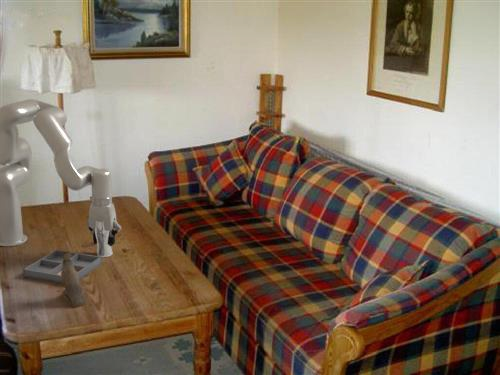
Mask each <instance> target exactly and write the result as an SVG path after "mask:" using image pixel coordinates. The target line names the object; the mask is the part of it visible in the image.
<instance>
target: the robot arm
mask: <svg viewBox="0 0 500 375" xmlns="http://www.w3.org/2000/svg"><path fill="white" fill-rule="evenodd" d="M67 120H68V119H67V114H66V113H65V111H64V110H63V109H62V108H60V107H59V106H57V105H54V104H50V103H47V102H44V101H41V100H38V99H33V98H32V99H25V100H21V101H17V102H16V101H15V102H11V103H8V104H6V105H2V106H1V107H0V166H3V167H0V246H1V247H16V246H20V245H22V244H24V243H26V242H27V241H28V236H27V235H26V234H24V231H23V230H24V229H23V218H22V207H21V206H22V205H21V199H20V196H19V193H18V192H17V188H18V187H21V186H23V185H24V184H27V182H28V181H29V180H30V178H31V172H32V171H31V170H32V148H31V145H30V143H29V142H28V140H26V139H25V138H24V137H19V134H20V133H19V129H18V127H17V126H18V125H22V124H25V123H26V124H27V123H30V122H33V124H34V126H35V128H36V130H38V132H39V134H40V135H41V137H42V139H44V141H45V143H46V144H47V146H48V147H49V148H50V149H51V152H52V154H53V163H54V167H55V171H56V173H57V174H58V176H59V178H60V179H61V181H62V182H63V184H64V185H65V186H66V187H67V188H68V189H69V190H72V191H75V192H76V191H80V190H83V189H85V188H87V187H89V186H91V196H90V197H89V201H90V200H91V203H90V206H89V212H88V220H87V221H85V226H86V227H87V228H88V229H89V231H90V232H91V234H92V239H93V245H95V244H97V240H96V236H95V225H96V221H102V222H104V223H103V224H104V230H105V231H109V235H110V237H109V246H111V247H112V246H114V245H115V244H116V235H117V234H118V233H119V232H120V231H121V230H122V226H121V224H119V223H118V221H117V214H116V208H115V203H113V191H112V190H113V187H112V173H111V170H109V169H107V168H98V167H93V166H91V165H84V166H81V167H79V168H77V169H76V168H75V166H74V165H73V163H72V161H71V159H70V150H71V147H72V144H73V139H72V138H71V136H70V135H69V133H68V132H67V131H66V129H65V128H64V126H65V125H66V123H67ZM111 230H112V231H111Z"/></svg>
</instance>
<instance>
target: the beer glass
mask: <svg viewBox="0 0 500 375" xmlns="http://www.w3.org/2000/svg"><path fill="white" fill-rule="evenodd" d="M103 223H104V222H102V221H96V225H95V236H96V240H97V243H96V244H97V251H96V256H99V257H102V258H107V257H111V256H113V248H112V246H109V237H110V235H109V231H105V230H104V224H103ZM111 231H112V230H111Z"/></svg>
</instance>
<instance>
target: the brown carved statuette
mask: <svg viewBox="0 0 500 375" xmlns="http://www.w3.org/2000/svg"><path fill="white" fill-rule="evenodd" d="M65 251H66V252H64V253H63V259H64V260H63V263H62V266H63V271H62V272H61V276H62V282H63V284H62V285H63V286H64V290H63V291H62V292H61V296H62V297H63V298H64V299H65V300H66V302H67V303H68V304H69V305H70V306H71V307H72V308H80V307H83V306H86V305H87V298H86V297H85V294H84V292H83V289H82V287H81V283H80V280H79V279H78V275H77V272H76V270H75V269H74V265H73V262H72V260H70V258H71V253H70V252H71V251H68V250H65Z"/></svg>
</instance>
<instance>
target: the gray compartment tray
mask: <svg viewBox="0 0 500 375" xmlns="http://www.w3.org/2000/svg"><path fill="white" fill-rule="evenodd" d="M66 251H67V250H61V249H55V250H53V251H52V252H50V253H48V254H47V255H45V256H44V257H42V258H40V259H37V261H35V262H33V263H32V264H30V265H28V266H26V267H25V268H23V277H24V278H28V279H35V280H39V281H45V282H51V283H56V284H59V285H60V284H61V285H63V282H62V276H61V272H62V271H63V266H62V263H63V260H64V259H63V253H64V252H66ZM69 252H70V253H71V258H70V260H72V262H73V265H74V269H75V270H76V272H77V275H78V279H79V281H81V279H83V278H85V277H86V276H88V274H90V273H92V272H93V271H94V269H95V270H96V269H97V268H99V267H100V266H101V265H103V257H99V256H97V255H93V254H92V255H91V254H88V253H87V254H85V253H79V252H73V251H69Z"/></svg>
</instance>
